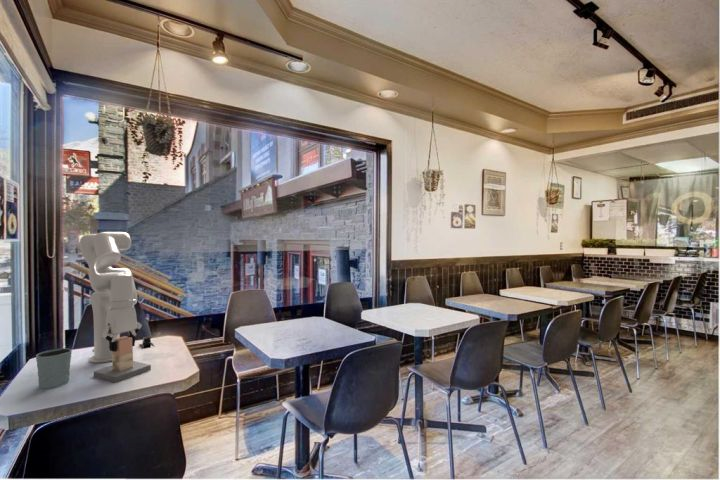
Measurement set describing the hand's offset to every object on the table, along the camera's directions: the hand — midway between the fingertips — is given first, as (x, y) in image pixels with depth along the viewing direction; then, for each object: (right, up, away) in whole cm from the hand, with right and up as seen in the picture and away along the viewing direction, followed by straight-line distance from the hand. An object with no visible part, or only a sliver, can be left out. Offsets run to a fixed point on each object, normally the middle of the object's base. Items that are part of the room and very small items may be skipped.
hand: (122, 348), depth 143 cm
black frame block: (-12, -10, +36) cm, 39 cm away
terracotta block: (0, -2, 0) cm, 2 cm away
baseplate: (0, -10, 0) cm, 10 cm away
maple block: (0, -8, 0) cm, 8 cm away
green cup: (-19, -11, -10) cm, 24 cm away
